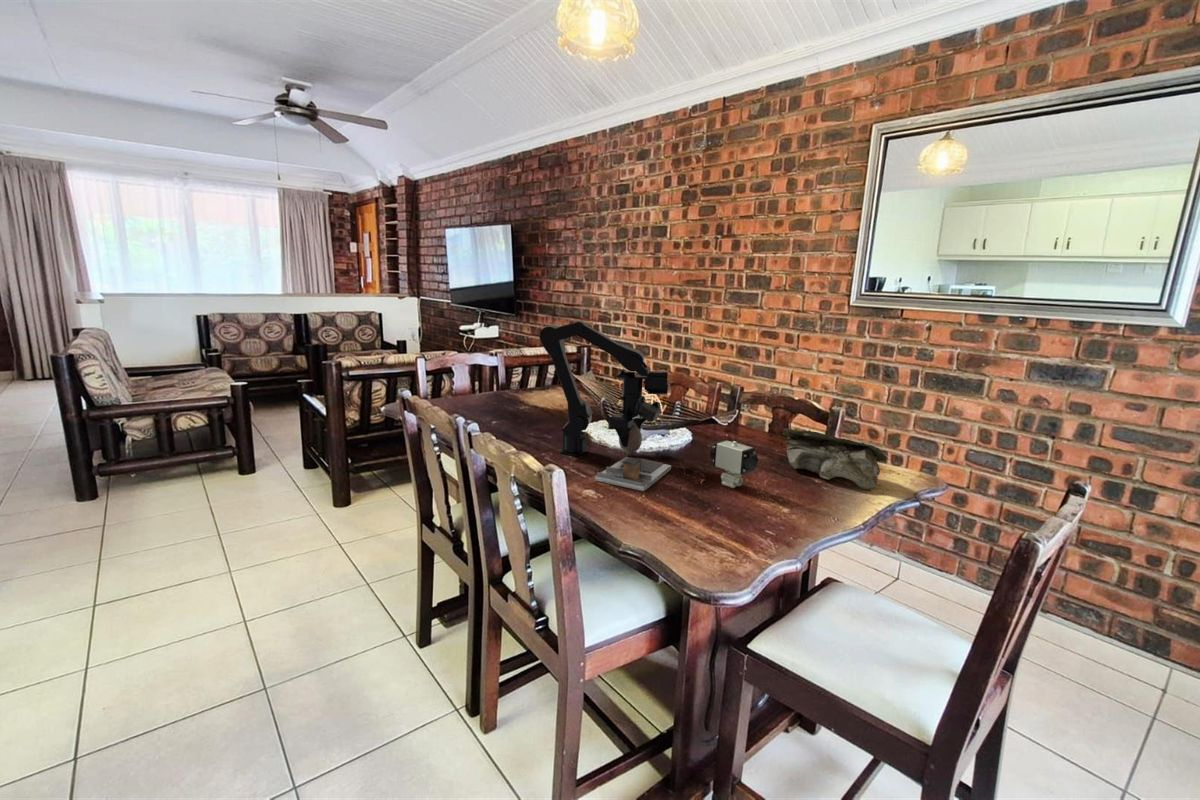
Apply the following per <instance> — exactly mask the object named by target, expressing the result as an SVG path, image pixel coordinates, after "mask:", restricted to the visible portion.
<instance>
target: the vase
mask: <svg viewBox="0 0 1200 800" xmlns="http://www.w3.org/2000/svg"><path fill="white" fill-rule="evenodd" d="M632 426H634V427H633V428H632V429H631V430H630V433H629V439H628V444H627V447H623V445H622V443H621V441H620V438H619V437H618V444H619V446H620V448H621V450H622V451H623V452H624V453H635V452H637V451H638V450H639V449H640V448H641V445H642V443H643V436H642V432H641V430H639V429H638V427H637V426H636V423H635V422H633V425H632Z"/></svg>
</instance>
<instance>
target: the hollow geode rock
mask: <svg viewBox="0 0 1200 800" xmlns="http://www.w3.org/2000/svg"><path fill="white" fill-rule="evenodd" d="M782 436H784V437H785V436H786V437H787V439H786V454H787V458H788V462H789V465H791V466H792V467H793V469H795V470H807V471H811V472H812V473H816V474H818V475H819V477H820V478H822V479H825V480H831V479H833V478H836V477H837V478H838V477H839V478H843V479H844V478H845V479H847V480H850V481H852V482H853V483H854V484H855V485H857V487H859V488H861V489H862V490H870V489H871V490H872V489H873V488H875V487H876V485H877V483H878V482H877V481H878V475H880V473H881V471H880V470H881V469H880V466H879V464H878V462H884V463H886V462H887V461H890V459H889V457H888V456H887V455H884V454H883V453H882V452H881V450H880V449H879V447H877V446H875V445H872V444H870V443H869V444H868V443H865V442H863V441H860V442H859V441H855V440H852V439H847V438H842V437H841V438H840V437H836V436H832V435H831V434H824V433H822V432H821V433H820V432H818V431H811V430H807V429H801V430H798V429H797V430H795V429H792V428H790V429H789V428H783V432H782Z"/></svg>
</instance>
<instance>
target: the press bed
mask: <svg viewBox="0 0 1200 800" xmlns="http://www.w3.org/2000/svg"><path fill="white" fill-rule="evenodd" d="M627 458H629V456H625V457H624V458H622V459H620V460H619V461H617V462H615V463H614V464H612V465H610V466H606V467H605V470H603V471H601V472H600V471H599V472H596V475H595V476H594V481H595V482H600V483H605V484H610V485H614V486H618V487H622V488H627V489H631V490H636V491H640V492H645V491H646V490H648V489H649V488H650V487H651V486H652V485H654V484H655V483H656V482H657V481H659V480H660V479H661V478H662V477H663V476H665V475H666V474H667V473H668V472H670V471H671V470H672V465H670V464H666V463H664V462H660V461H654V460H650V459H646V458H639V457H636V456H634V457H633V458H635V459H640V469H639V479H637V480H633V479H628V478H624V477H623V465H624V464H623V461H624V460H626V459H627Z"/></svg>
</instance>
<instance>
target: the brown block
mask: <svg viewBox="0 0 1200 800" xmlns="http://www.w3.org/2000/svg"><path fill="white" fill-rule="evenodd" d="M628 457H629V456H628ZM635 458H636V457H635ZM635 458H634V457H631V456H630V457H629V458H627V459H626V460H624V461H623V464H624V465H623V477H624V478H628V479H633V480H637V479H639V469H640V459H635Z"/></svg>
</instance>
